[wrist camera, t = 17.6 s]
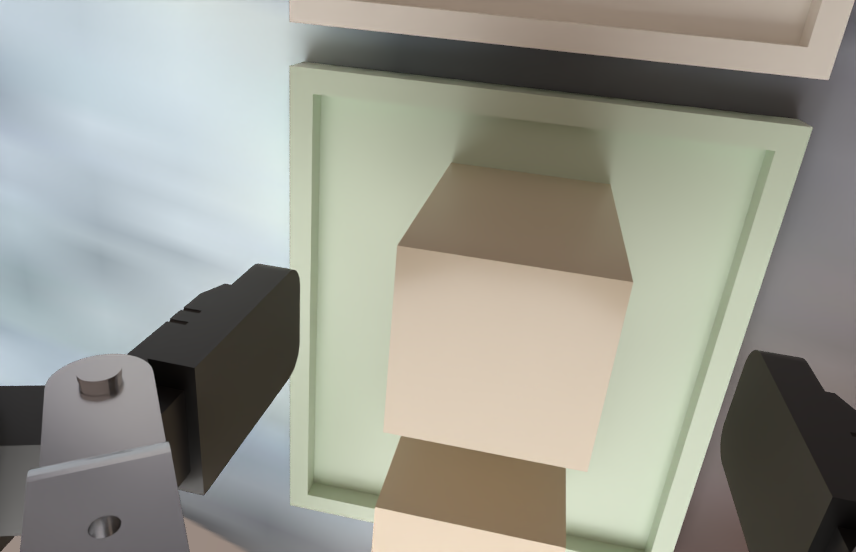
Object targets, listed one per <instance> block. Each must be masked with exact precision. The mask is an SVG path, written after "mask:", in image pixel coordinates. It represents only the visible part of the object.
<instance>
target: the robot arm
mask: <svg viewBox="0 0 856 552" xmlns="http://www.w3.org/2000/svg"><path fill="white" fill-rule="evenodd" d="M299 346H300V278H299V274H298V272H297V271H296V270H292V269H287V268H281V267H275V266H269V265H263V264H255V265H254V266H252V267H251V268H250V269H249V270H248V271H247V272H245V273H244V274H243V275H242V276H241V277H240V278H239V279H237V280H236V281H235V282H234V283H233V284H232V285H229V284H223V285H221V286H218V287H216V288H213V289H211V290H208V291H206V292H203V293H201V294H199V295H198V296H197V297H196V298H195V299H193V300H192V301H191V302H190V303H189V304H187V305H186V306H185V307H184V310H180V311H179V312H178V313H176V314H175V315H174V316H173V317H172V318H170V322H166V323H164V324H163V325H162V326H161V327H160V328H158V329H157V330H156V331H155V332H153V333H152V334H151V335H150V336H149V337H147V338H146V339H145V340H144V341H143V342H141V343H140V344H139V345H138V346H137V347H135V348H134V349H133V350H132V351H131V352H129V353H128V354H127V355H125V354H103V355H96V356H91V357H87V358H83V359H80V360H77V361H74V362H72V363H70V364H68V365H66V366H64V367H62V368H61V369H59V370H58V371H56V372H55V373H54V374H53V375H52V376H51V377H50V378H49V379H48V381H47V383H46V385H45V386H0V551H2V550H3V548H4V547H5V546H6V545H7V544H8V543H9V542H10V541H11V540H12V539H13V538H14V536H17V535H21V547H20V552H190V551H189V546H188V540H187V535H186V530H185V524H184V519H183V513H182V508H181V503H180V497H179V492H178V490H182V491H186V492H191V493H195V494H200V495H205V493H206V492H207V491H208V489H209V488H210V487H211V485H212V484H213V482H214V481H215V480H216V478H217V477H218V475H219V474H220V473H221V471H222V470H223V469H224V467H225V466H226V464H227V463H228V462H229V460H230V459H231V458H232V456H233V455H234V453H235V452H236V451H237V449H238V448H239V447H240V445H241V444H242V442H243V441H244V440H245V438H246V437H247V435H248V434H249V433H250V431H251V430H252V429H253V427H254V426H255V424H256V423H257V422H258V420H259V419H260V418H261V416H262V415H263V413H264V412H265V411H266V409H267V408H268V407H269V405H270V404H271V402H272V401H273V400H274V398H275V397H276V395H277V394H278V393H279V391H280V390H281V389H282V387H283V386H284V384H285V383H286V382H287V380H288V379H289V378H290V376H291V374H292V372H293V370H294V368H295V365H296V362H297V358H298V354H299ZM721 461H722V465H723V468H724V471H725V474H726V478H727V481H728V484H729V487H730V491H731V494H732V497H733V501H734V504H735V507H736V510H737V514H738V517H739V520H740V523H741V527H742V530H743V533H744V536H745V540H746V543H747V546H748V550H749V552H856V410H855V409H853V408H852V407H851V406H850V405H848V404H847V403H846V402H845V401H844V400H842V399H841V398H840V397H839V396H837V395H836V394H835V393H830V392H825V391H824V389H823V387H822V386H821V384H820V383H819V381H818V379H817V378H816V376H815V374H814V373H813V371H812V369H811V368H810V366H809V365H808V363H807V362H806V360H805V359H803V358H799V357H793V356H788V355H782V354H776V353H770V352H764V351H758V350H754V351H752V352H751V353H750V355H749V356H748V358H747V360H746V362H745V365H744V368H743V371H742V374H741V377H740V379H739V382H738V385H737V388H736V391H735V394H734V397H733V400H732V403H731V406H730V408H729V411H728V414H727V417H726V420H725V423H724V426H723V430H722V436H721Z"/></svg>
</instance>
